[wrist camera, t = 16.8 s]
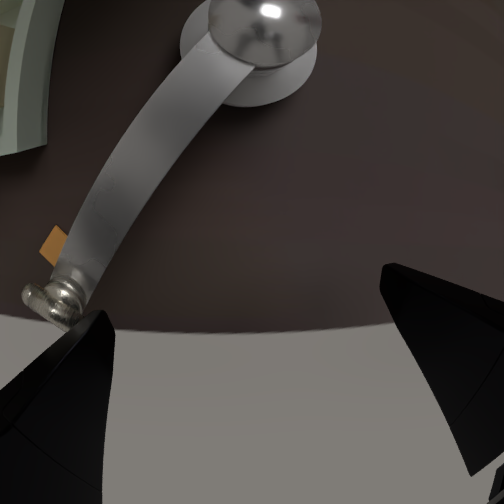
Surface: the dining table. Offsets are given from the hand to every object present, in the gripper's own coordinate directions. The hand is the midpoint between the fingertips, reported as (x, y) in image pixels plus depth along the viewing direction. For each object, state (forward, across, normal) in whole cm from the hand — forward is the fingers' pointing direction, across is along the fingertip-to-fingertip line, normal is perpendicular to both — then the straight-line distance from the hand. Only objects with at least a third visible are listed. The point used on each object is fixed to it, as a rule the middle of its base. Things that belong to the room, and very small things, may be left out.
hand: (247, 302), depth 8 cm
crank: (+3, +2, -5) cm, 6 cm away
